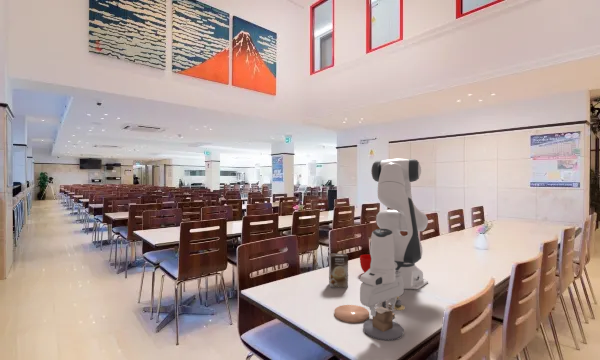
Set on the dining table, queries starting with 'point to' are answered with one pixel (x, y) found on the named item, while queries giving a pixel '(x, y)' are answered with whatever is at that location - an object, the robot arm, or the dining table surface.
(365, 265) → the ceramic cup
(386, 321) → the walnut block
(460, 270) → the dining table surface
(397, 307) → the balance
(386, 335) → the charcoal dish
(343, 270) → the coffee box
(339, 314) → the terracotta dish
